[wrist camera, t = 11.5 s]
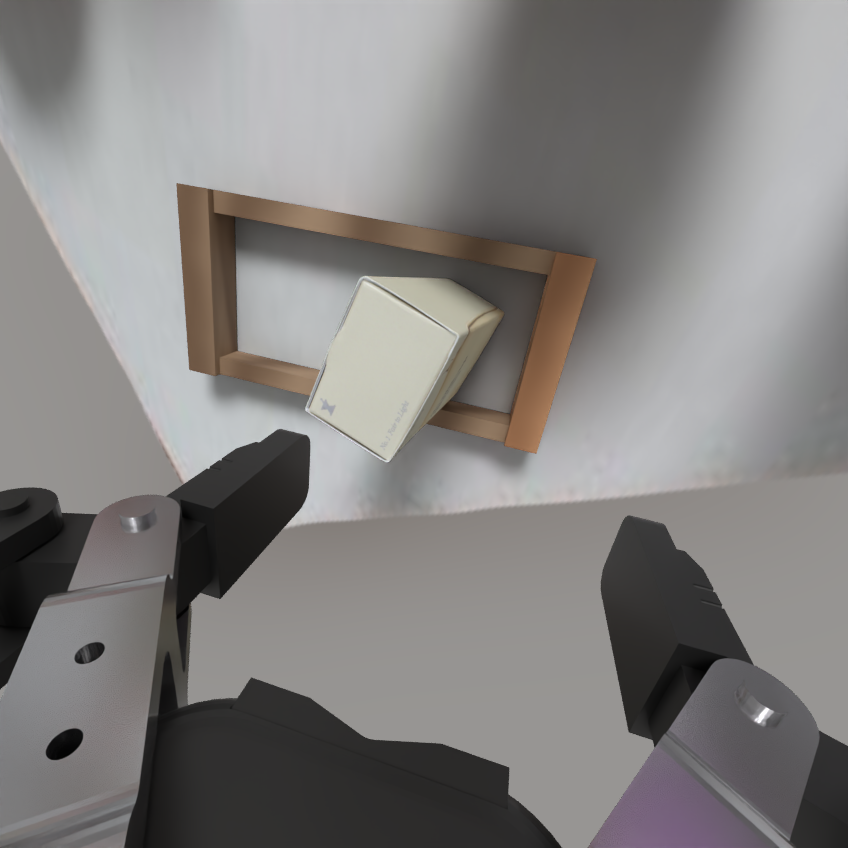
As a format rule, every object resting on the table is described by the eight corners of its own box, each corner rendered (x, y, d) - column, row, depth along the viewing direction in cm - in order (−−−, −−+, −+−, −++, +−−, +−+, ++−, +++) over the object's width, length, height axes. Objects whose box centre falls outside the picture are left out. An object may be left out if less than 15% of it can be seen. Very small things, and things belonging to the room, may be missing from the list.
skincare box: (457, 394, 28) (389, 472, 17) (400, 358, 28) (299, 414, 18) (508, 308, 25) (465, 338, 14) (445, 271, 26) (357, 272, 15)
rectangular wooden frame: (589, 257, 24) (596, 258, 22) (535, 437, 29) (536, 453, 26) (205, 188, 27) (176, 183, 25) (213, 360, 32) (189, 369, 29)
